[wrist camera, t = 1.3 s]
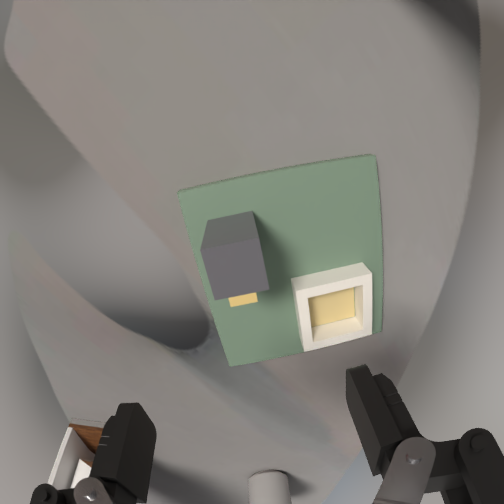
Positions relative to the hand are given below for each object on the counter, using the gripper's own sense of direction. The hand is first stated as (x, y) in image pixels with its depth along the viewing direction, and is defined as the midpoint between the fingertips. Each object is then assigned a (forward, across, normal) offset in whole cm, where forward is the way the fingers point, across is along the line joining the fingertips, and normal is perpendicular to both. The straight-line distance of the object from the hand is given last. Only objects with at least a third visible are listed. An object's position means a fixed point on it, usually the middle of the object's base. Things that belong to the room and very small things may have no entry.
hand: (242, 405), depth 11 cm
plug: (+19, 0, 0) cm, 19 cm away
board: (+20, -5, +5) cm, 21 cm away
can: (+20, +5, +48) cm, 52 cm away
